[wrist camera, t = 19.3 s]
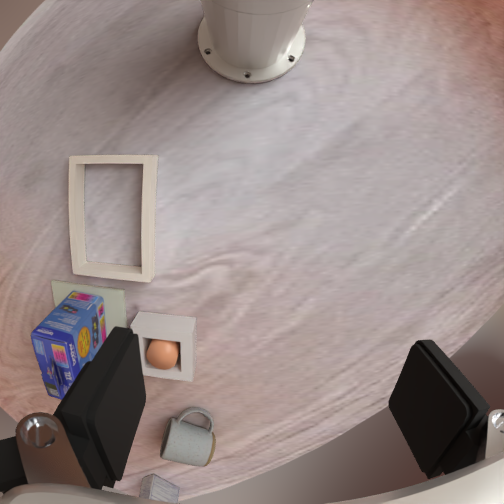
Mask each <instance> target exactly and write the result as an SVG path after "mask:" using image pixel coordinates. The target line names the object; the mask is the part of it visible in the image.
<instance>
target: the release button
mask: <svg viewBox="0 0 504 504" xmlns="http://www.w3.org/2000/svg"><path fill="white" fill-rule="evenodd" d="M180 347H181V343H180V342H177V341H168V340H160V339H152V341H151V343H150V346H149V348H148V350H147V354H146V355H147V359H148V361H149V362H150V363H151V364H152V365H153V366H154V367H156V368H159V369H164V370H166V369H170V368H172V367H174V365H175V364H176V361H177V358H178V354H179V351H180Z"/></svg>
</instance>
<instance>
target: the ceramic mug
mask: <svg viewBox="0 0 504 504" xmlns="http://www.w3.org/2000/svg"><path fill="white" fill-rule="evenodd" d="M193 412H199V413H202V414H203V415H204V416H205V417H207V418H208V419H209V420H210V427H209V429H208V430H207V429H205V428H201V427H198V426H195V425H192V424H189V423H186V422H184V421H181V420H182V419H183V418H184V417H185V416H186V415H188V414H190V413H193ZM213 427H214V423H213V418H212V416H211V415H210V414H209V413H208V412H207V411H206V410H204V409H202V408H198V407H191V408H188V409H186V410H184V411H183V412H182V413H181V414H180V416H179V417H178V419H175V418H170V420H169V421H168V424H167V426H166V429H165V432H164V435H163V439H162V444H161V450H160V457H161V458H162V459H165V460H170V461H174V462H178V463H183V464H188V465H192V466H207V465H208V464H209V463H210V461H211V459H212V457H213V454H214V450H215V443H216V439H215V435H214V433H213V432H212V431H213Z"/></svg>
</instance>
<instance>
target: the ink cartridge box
mask: <svg viewBox="0 0 504 504" xmlns="http://www.w3.org/2000/svg"><path fill="white" fill-rule="evenodd" d="M106 338H107V332H106V321H105V308H104V299H103V297H101V296H98V295H93V294H88V293H83V292H79V291H72V292H71V293H70V294H69V295H68V296H67V297H66V298H65V299H64V300H63V301H62V302H61V303H60V304H59V305H58V306H57V307H56V308H55V309H54V310H53V311H52V312H51V313H50V314H49V315H48V316H47V317H46V318H45V319H44V320H43V321H42V322H41V323H40V324H39V325H38V326H37V327H36V328H35V329H34V330H33V332H32V333H31V339H32V344H33V347H34V351H35V355H36V358H37V361H38V362H39V367H40V370H41V371H42V374H41V376H42V379H43V381H44V384H45V387H46V390H47V393H48V395H49V396H52V397H55V398H58V399H61V400H62V399H63V398H64V396H65V394H66V393H67V391H68V389H69V388H70V386H71V385H72V383H73V382H74V380H75V378H76V377H77V375H78V374H79V372H80V371H81V369H82V368H83V366H84V364H85V363H86V362H88V361H92V360H93V358H94V356H95V355H96V353H97V352H98V350H99V349H100V347H101V346H102V344H103V343H104V341H105V340H106Z"/></svg>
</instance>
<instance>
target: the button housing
mask: <svg viewBox="0 0 504 504" xmlns="http://www.w3.org/2000/svg"><path fill="white" fill-rule="evenodd" d="M130 328H131V329H132V330H133V333H135V334H138V337H139V346H140V355H141V363H142V371H143V375H145V376H152V377H159V378H166V379H174V380H182V381H192V382H193V378H194V372H195V367H196V317H188V316H178V315H168V314H159V313H151V312H142V311H139V312H138V314H137V315H136V317H135V319H134V320H133V322H132V324H131V325H130ZM151 338H152V339H160V340H168V341H177V342H180V343H181V355H180V354H178V358H177V361H176V364H175V365H174V367H172V368H170V369H166V370H164V369H159V368H156V367H154V366H153V365H152V364H151V363H150V362H149V361H148V359H147V355H146V354H147V350H148V348H149V346H150V343H151Z"/></svg>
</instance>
